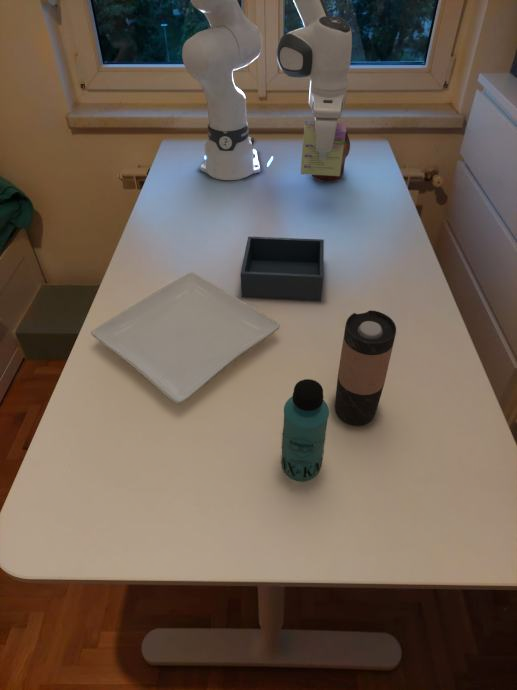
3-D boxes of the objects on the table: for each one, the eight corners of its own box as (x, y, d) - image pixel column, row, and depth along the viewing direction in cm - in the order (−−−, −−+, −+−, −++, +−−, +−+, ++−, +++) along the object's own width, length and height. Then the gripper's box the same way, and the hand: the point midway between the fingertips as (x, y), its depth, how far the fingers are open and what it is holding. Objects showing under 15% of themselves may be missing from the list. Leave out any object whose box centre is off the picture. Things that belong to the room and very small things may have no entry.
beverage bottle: (277, 454, 82) (279, 372, 68) (318, 451, 82) (328, 368, 68) (282, 490, 77) (285, 409, 63) (325, 487, 78) (337, 405, 64)
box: (339, 166, 135) (345, 122, 127) (340, 176, 131) (346, 131, 123) (301, 165, 136) (304, 120, 128) (300, 174, 132) (303, 129, 124)
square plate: (92, 344, 101) (87, 330, 99) (193, 283, 116) (191, 269, 113) (180, 416, 88) (177, 402, 85) (282, 337, 102) (282, 322, 99)
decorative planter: (308, 158, 162) (311, 114, 152) (347, 160, 161) (351, 115, 151) (305, 187, 148) (307, 140, 138) (346, 189, 147) (352, 142, 137)
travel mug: (366, 434, 85) (385, 350, 71) (325, 415, 88) (336, 331, 74) (383, 404, 89) (404, 320, 75) (344, 387, 92) (357, 303, 78)
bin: (248, 259, 122) (248, 236, 117) (321, 263, 120) (323, 239, 116) (241, 297, 112) (240, 273, 107) (321, 301, 110) (323, 277, 105)
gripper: (315, 82, 128) (310, 136, 138) (313, 113, 114) (308, 171, 123) (340, 83, 128) (334, 137, 137) (341, 114, 113) (334, 172, 123)
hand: (322, 153), depth 130 cm, fingers closed on box, 5 cm apart
